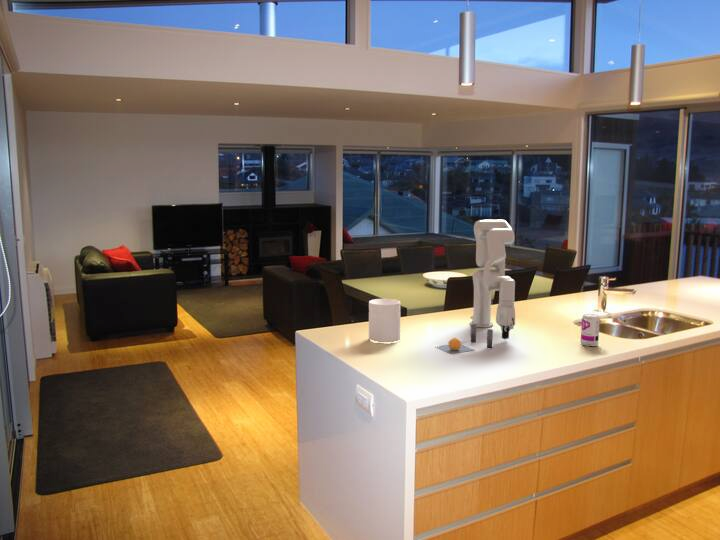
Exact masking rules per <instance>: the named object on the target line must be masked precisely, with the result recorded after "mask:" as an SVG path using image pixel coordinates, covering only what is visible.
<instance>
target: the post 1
mask: <svg viewBox="0 0 720 540" xmlns="http://www.w3.org/2000/svg"><path fill="white" fill-rule="evenodd" d="M476 342H477V327H476V324H471V325H470V343H476Z"/></svg>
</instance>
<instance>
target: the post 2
mask: <svg viewBox="0 0 720 540" xmlns="http://www.w3.org/2000/svg"><path fill="white" fill-rule="evenodd" d="M493 331H494V330H493V329H491V328H490V329H489V328H488V329H487V331H486V332H487V333H486V349H488V348H491V349H493V336H494V335H493V334H494V333H493Z"/></svg>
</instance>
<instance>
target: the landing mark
mask: <svg viewBox="0 0 720 540" xmlns="http://www.w3.org/2000/svg"><path fill="white" fill-rule="evenodd" d="M436 346H437V349H438V348H439V349H438V350H441V351H443V352H446V353H448V354H450V355H452V354H458V353H459V354H460V353H465V352H466V351H467V352H474V351H475V349H474V348H471V347H469V346H466V345H464V344H462V343H461V347H460V349H459V350H457V351H453V350H451V349H450V348H449V343H447V344H441V345H436ZM438 346H439V347H438ZM473 350H474V351H473Z"/></svg>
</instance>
